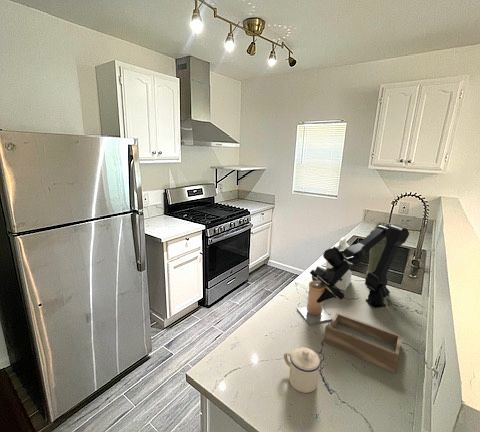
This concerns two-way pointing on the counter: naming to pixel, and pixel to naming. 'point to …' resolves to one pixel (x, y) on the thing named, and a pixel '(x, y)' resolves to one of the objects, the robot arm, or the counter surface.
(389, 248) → the robot arm
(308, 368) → the teacup with lid
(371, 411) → the counter surface
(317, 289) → the terracotta pot
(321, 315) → the slate tile
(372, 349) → the wooden box frame
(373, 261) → the thermos
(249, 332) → the counter surface
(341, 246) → the milk
